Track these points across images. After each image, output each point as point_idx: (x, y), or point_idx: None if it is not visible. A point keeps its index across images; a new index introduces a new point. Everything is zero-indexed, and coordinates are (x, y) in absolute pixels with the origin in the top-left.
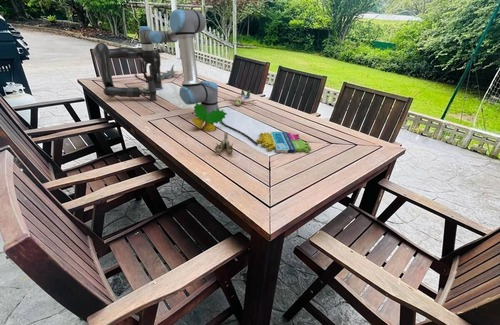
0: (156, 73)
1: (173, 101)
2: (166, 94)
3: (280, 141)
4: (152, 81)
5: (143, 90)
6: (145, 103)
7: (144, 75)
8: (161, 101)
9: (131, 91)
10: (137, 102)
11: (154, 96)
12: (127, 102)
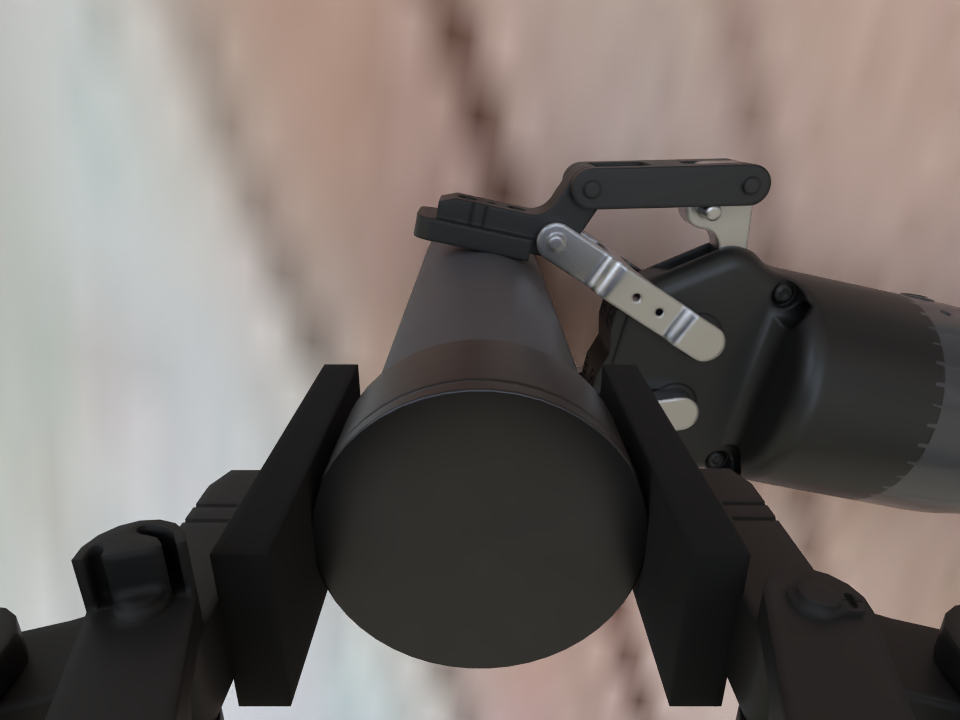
0: (112, 545)
1: (118, 113)
2: None
3: None
4: (444, 341)
5: (685, 322)
6: (649, 100)
7: (773, 548)
8: (346, 167)
9: (950, 322)
10: (768, 202)
11: None
12: (923, 241)
